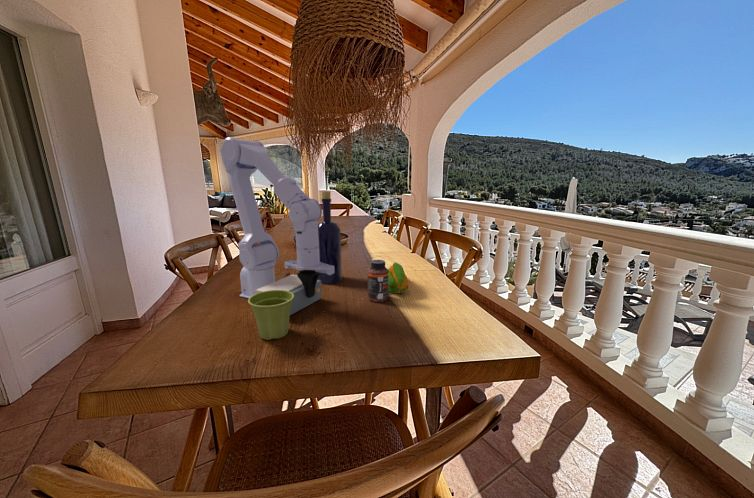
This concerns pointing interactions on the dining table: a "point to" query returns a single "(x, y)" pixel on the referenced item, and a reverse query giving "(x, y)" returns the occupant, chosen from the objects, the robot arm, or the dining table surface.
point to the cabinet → (283, 284)
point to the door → (304, 298)
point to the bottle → (329, 243)
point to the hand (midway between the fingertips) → (310, 296)
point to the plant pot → (272, 312)
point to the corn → (397, 279)
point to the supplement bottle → (378, 281)
